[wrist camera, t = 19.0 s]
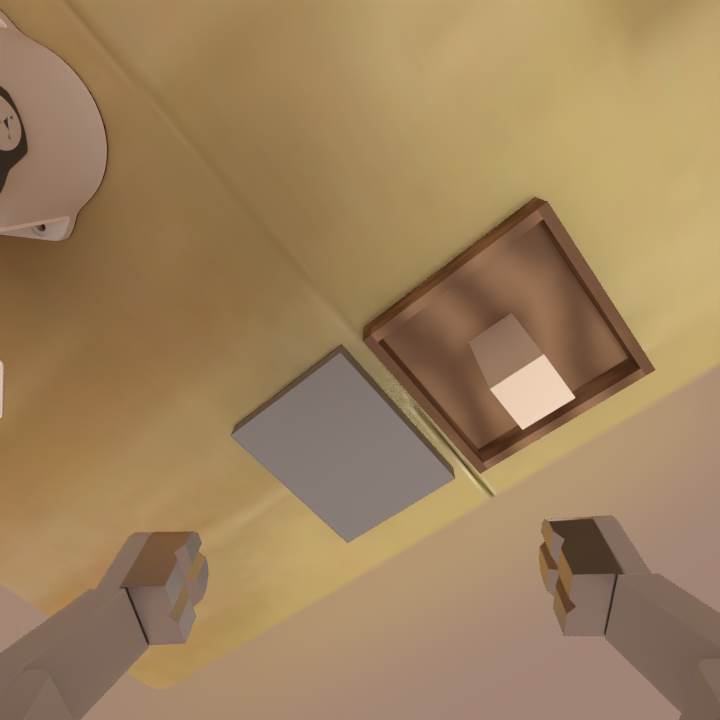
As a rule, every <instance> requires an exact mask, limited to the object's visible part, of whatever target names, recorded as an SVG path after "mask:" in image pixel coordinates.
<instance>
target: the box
mask: <svg viewBox="0 0 720 720" xmlns="http://www.w3.org/2000/svg"><path fill="white" fill-rule="evenodd" d="M510 313H512V314H513V315H514V317H515V318H516V319H517V320H518V322H519V323H520V324H521V326H522V327H523V328H524V329H525V331H526V332H527V333H528V335H529V336H530V337H531V338H532V340H533V341H534V342H535V343H536V345H537V346H538V347H539V349H540V350H541V351H542V352H543V354H544V355H545V356H546V358H547V359H548V360H549V362H550V363H551V365H552V366H553V367H554V369H555V370H556V371H557V373H558V374H559V376H560V377H561V378H562V380H563V381H564V382H565V384H566V385H567V387H568V388H569V389H570V391H571V392H572V393H573V395H574V396H575V399H573V400H571V401H570V402H568V403H566V404H565V405H563V406H561V407H560V408H558V409H556V410H555V411H553V412H551V413H550V414H548V415H546V416H545V417H543V418H541V419H540V420H538V421H536V422H535V423H533V424H531V425H530V426H528V427H526V428H525V429H523V430H522V429H521V427H520V426H519V425H518V424H517V422H516V421H515V420H514V419H513V417H512V416H511V415H510V414H509V412H508V411H507V410H506V409H505V408H504V406H503V405H502V404H501V403H500V401H499V400H498V399H497V398H496V396H495V395H494V394H493V393H492V391H491V390H490V389H489V386H488V384H487V382H486V380H485V377H484V375H483V373H482V371H481V369H480V366H479V364H478V362H477V360H476V358H475V355H474V353H473V351H472V349H471V347H470V344H469V341H471V340H472V339H474V338H475V337H477V336H478V335H480V334H481V333H483V332H484V331H485V330H487V329H488V328H490V327H491V326H493V325H494V324H496V323H497V322H498V321H500V320H501V319H503V318H504V317H506V316H507V315H509V314H510ZM363 341H364V343H365V344H366V345H367V346H368V347H369V348H370V349H371V350H372V352H373V353H374V354H375V355H376V356H377V357H378V358H379V360H380V361H381V362H382V363H383V364H384V365H385V366H386V367H387V369H388V370H389V371H390V372H391V373H392V374H393V375H394V377H395V378H396V379H397V380H398V381H399V382H400V383H401V384H402V386H403V387H404V388H405V389H406V390H407V391H408V392H409V394H410V395H411V396H412V397H413V398H414V399H415V400H416V401H417V403H418V404H419V405H420V406H421V407H422V408H423V409H424V411H425V412H426V413H427V414H428V415H429V416H430V417H431V418H432V420H433V421H434V422H435V423H436V424H437V425H438V426H439V428H440V429H441V430H442V431H443V432H444V433H445V434H446V435H447V437H448V438H449V439H450V440H451V441H452V442H453V443H454V445H455V446H456V447H457V448H458V449H459V450H460V451H461V452H462V454H463V455H464V456H465V457H466V458H467V459H468V460H469V462H470V463H471V464H472V465H473V466H474V467H475V468H476V469H477V471H478V472H479V473H480V474H481V473H482V472H484V471H486V470H487V469H489V468H491V467H492V466H494V465H496V464H497V463H499V462H501V461H503V460H504V459H506V458H508V457H509V456H511V455H513V454H514V453H516V452H518V451H519V450H521V449H523V448H524V447H526V446H528V445H530V444H531V443H533V442H535V441H536V440H538V439H540V438H541V437H543V436H545V435H546V434H548V433H550V432H551V431H553V430H555V429H557V428H558V427H560V426H562V425H563V424H565V423H567V422H568V421H570V420H572V419H573V418H575V417H577V416H578V415H580V414H582V413H584V412H585V411H587V410H589V409H590V408H592V407H594V406H595V405H597V404H599V403H600V402H602V401H604V400H606V399H607V398H609V397H611V396H612V395H614V394H616V393H617V392H619V391H621V390H622V389H624V388H626V387H627V386H629V385H631V384H633V383H634V382H636V381H638V380H639V379H641V378H643V377H644V376H646V375H648V374H649V373H651V372H653V371H654V370H655V368H654V367H653V365H652V364H651V362H650V361H649V359H648V358H647V356H646V354H645V353H644V351H643V350H642V348H641V347H640V345H639V343H638V342H637V340H636V339H635V337H634V336H633V334H632V333H631V331H630V329H629V328H628V326H627V325H626V323H625V322H624V320H623V318H622V317H621V315H620V314H619V312H618V311H617V309H616V308H615V306H614V304H613V303H612V301H611V300H610V298H609V297H608V295H607V294H606V292H605V290H604V289H603V287H602V286H601V284H600V283H599V281H598V279H597V278H596V276H595V275H594V273H593V272H592V270H591V269H590V267H589V265H588V264H587V262H586V261H585V259H584V258H583V256H582V254H581V253H580V251H579V250H578V248H577V247H576V245H575V244H574V242H573V240H572V239H571V237H570V236H569V234H568V233H567V231H566V229H565V228H564V226H563V225H562V223H561V222H560V220H559V219H558V217H557V215H556V214H555V212H554V211H553V209H552V208H551V206H550V204H549V203H548V202H547V201H544V200H541V199H539V198H536V197H535V198H534V199H532V200H531V201H530V202H528V203H527V204H526V205H524V206H523V207H522V208H520V209H519V210H518V211H516V212H515V213H514V214H513V215H511V216H510V217H509V218H507V219H506V220H505V221H503V222H502V223H501V224H499V225H498V226H497V227H495V228H494V229H493V230H492V231H490V232H489V233H488V234H486V235H485V236H484V237H482V238H481V239H480V240H478V241H477V242H476V243H474V244H473V245H472V246H471V247H469V248H468V249H467V250H465V251H464V252H463V253H461V254H460V255H459V256H457V257H456V258H455V259H454V260H452V261H451V262H450V263H448V264H447V265H446V266H444V267H443V268H442V269H440V270H439V271H438V272H436V273H435V274H434V275H433V276H431V277H430V278H429V279H427V280H426V281H425V282H423V283H422V284H421V285H419V286H418V287H417V288H415V289H414V290H413V291H412V292H410V293H409V294H408V295H406V296H405V297H404V298H402V299H401V300H400V301H398V302H397V303H396V304H395V305H393V306H392V307H391V308H389V309H388V310H387V311H385V312H384V313H383V314H381V315H380V316H379V317H377V318H376V319H375V320H374V321H372V322H371V323H370V324H368V325H367V326H366V327H364V334H363Z"/></svg>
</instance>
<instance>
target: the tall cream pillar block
mask: <svg viewBox="0 0 720 720" xmlns="http://www.w3.org/2000/svg"><path fill="white" fill-rule="evenodd" d="M469 344H470V347H471V349H472V351H473V353H474V355H475V358H476V360H477V362H478V364H479V366H480V369H481V371H482V373H483V375H484V377H485V380H486V382H487V384H488V386H489V389H490V390H491V391H492V393H493V394H494V395H495V396H496V398H497V399H498V400H499V401H500V403H501V404H502V405H503V406H504V408H505V409H506V410H507V411H508V412H509V414H510V415H511V416H512V417H513V419H514V420H515V421H516V422H517V424H518V425H519V426H520V427H521V429H522V430H523V429H525V428H526V427H528V426H530V425H531V424H533V423H535V422H536V421H538V420H540V419H541V418H543V417H545V416H546V415H548V414H550V413H551V412H553V411H555V410H556V409H558V408H560V407H561V406H563V405H565V404H566V403H568V402H570V401H571V400H573V399H575V396H574V395H573V393H572V392H571V391H570V389H569V388H568V387H567V385H566V384H565V382H564V381H563V380H562V378H561V377H560V376H559V374H558V373H557V371H556V370H555V369H554V367H553V366H552V365H551V363H550V362H549V360H548V359H547V358H546V356H545V355H544V354H543V352H542V351H541V350H540V349H539V347H538V346H537V345H536V343H535V342H534V341H533V340H532V338H531V337H530V336H529V335H528V333H527V332H526V331H525V329H524V328H523V327H522V326H521V324H520V323H519V322H518V320H517V319H516V318H515V317H514V315H513V314H512V313H510V314H509V315H507V316H506V317H504V318H503V319H501V320H500V321H498V322H497V323H496V324H494V325H493V326H491V327H490V328H488V329H487V330H485V331H484V332H483V333H481V334H480V335H478V336H477V337H475V338H474V339H472V340H471V341H469Z"/></svg>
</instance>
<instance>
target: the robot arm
mask: <svg viewBox="0 0 720 720" xmlns="http://www.w3.org/2000/svg"><path fill="white" fill-rule="evenodd" d="M106 159H107V143H106V136H105V130H104V126H103V122H102V119H101V116H100V113H99V111H98V108H97V106H96V104H95V102H94V100H93V98H92V96H91V94H90V93H89V91H88V89H87V88H86V86H85V85H84V83H83V82H82V81H81V79H80V78H79V77H78V76H77V74H76V73H75V72H74V71H73V70H72V69H71V68H70V67H69V66H68V65H67V64H66V63H65V62H64V61H63V60H62V59H61V58H59V57H58V56H57V55H56V54H54V53H53V52H52V51H50V50H49V49H47V48H45V47H44V46H42V45H40V44H38V43H37V42H35V41H33V40H31V39H30V38H28V37H27V36H25V35H24V34H22V33H21V32H20V31H19V30H18V29H17V28H16V27H15V25H14V24H13V23H12V22H11V21H10V20H9V19H8V18H7V16H6V15H5V14H4V13H3V12H2V11H1V10H0V234H1V235H9V236H17V237H25V238H34V239H42V240H50V241H60V240H65V239H67V238H68V237H69V236H70V235H71V233H72V231H73V228H74V225H75V221H76V217H77V214H78V212H79V211H80V209H81V208H82V207H83V206H84V205H85V204H86V203H87V202H88V201H89V200H90V199H91V197H92V196H93V195H94V194H95V192H96V191H97V189H98V187H99V185H100V183H101V181H102V178H103V175H104V171H105V167H106ZM42 224H44V225H45V227H46V229H45V230H44V229H43V228H42V226H41V225H42ZM541 532H542V535H543V537H544V540H545V542H544V543H543V544H542V545H541V546H540V550H539V563H540V571H541V575H542V579H543V582H544V585H545V588H546V590H547V591H548V592H550V593H551V594H552V595H553V596H554V604H553V609H554V612H555V614H556V617H557V619H558V622H559V625H560V627H561V630H562V632H563V635H564V636H605V639H606V640H607V641H608V642H609V643H610V644H611V645H612V646H613V647H614V648H615V649H616V650H617V651H618V652H620V654H622V656H624V657H625V658H626V659H627V660H628V661H629V662H630V663H631V664H632V665H633V666H634V667H635V668H636V669H637V670H638V671H639V672H640V673H641V674H642V675H643V676H644V677H645V678H646V679H647V680H648V681H649V682H650V683H651V684H652V685H653V686H654V687H655V688H656V689H657V690H658V691H659V692H660V693H661V694H662V695H663V696H664V697H665V698H667V700H668V701H670V703H672V705H674V706H675V707H676V708H677V709H678V710H679V711H680V712H681V713H682V714H681V716H680V719H679V720H720V613H719V612H717V611H716V610H714V609H713V608H711V607H710V606H708V605H707V604H705V603H703V602H702V601H700V600H699V599H697V598H696V597H694V596H693V595H691V594H690V593H688V592H687V591H685V590H684V589H682V588H680V587H679V586H677V585H676V584H674V583H672V582H671V581H670V580H668V579H667V578H665V577H664V576H662V575H660V574H652V573H651V571H650V570H649V568H648V567H647V565H646V564H645V562H644V561H643V559H642V558H641V556H640V554H639V553H638V551H637V550H636V548H635V547H634V545H633V543H632V542H631V541H630V539H629V537H628V536H627V534H626V533H625V531H624V529H623V528H622V526H621V525H620V523H619V522H618V520H617V519H616V518H615V517H613V516H594V517H593V516H592V517H573V518H553V519H552V518H551V519H544V521H543V523H542V529H541ZM201 544H202V543H201V540H200V537H199V534H198V533H197V532H140V533H134V534H132V535H131V536H129V538H128V539H127V541H126V542H125V544H124V545H123V547H122V549H121V550H120V552H119V553H118V555H117V556H116V558H115V560H114V561H113V563H112V564H111V566H110V567H109V569H108V571H107V572H106V574H105V575H104V577H103V578H102V580H101V582H100V583H99V585H98V586H97V588H96V589H90V590H88V591H87V592H85V593H84V594H82V595H81V596H80V597H78V598H77V599H75V600H74V601H73V602H71V603H70V604H68V605H67V606H66V607H64V608H63V609H61V610H60V611H59V612H57V613H56V614H54V615H53V616H52V617H50V618H49V619H47V620H46V621H45V622H43V623H42V624H40V625H39V626H38V627H36V628H35V629H33V630H32V631H31V632H29V633H28V634H27V635H25V636H24V637H22V638H21V639H19V640H18V641H17V642H15V643H14V644H12V645H11V646H10V647H8V648H7V649H5V650H4V651H3V652H1V653H0V720H80V719H81V718H82V717H83V716H84V715H85V714H86V713H87V712H88V711H89V710H90V709H91V708H92V707H93V706H94V705H95V704H96V703H97V702H98V700H99V699H100V698H101V697H102V696H103V695H104V694H105V693H106V692H107V691H108V690H109V689H110V688H111V687H112V686H113V684H115V683H116V681H117V680H118V679H119V678H120V677H121V676H122V675H123V674H124V673H125V672H126V671H127V670H128V669H129V668H130V667H131V666H132V665H133V664H134V662H135V661H136V660H137V659H138V658H139V657H140V656H141V655H142V654H143V653H144V652H145V651H146V650H147V649H148V645H164V644H184V643H186V640H187V638H188V635H189V633H190V630H191V628H192V625H193V622H194V620H195V617H196V615H195V612H194V609H193V607H194V606H195V605H196V604H197V603H199V602H200V601H201V600H202V599H203V596H204V593H205V591H206V588H207V581H208V564H207V560H206V557H205V556H204V555H202V554H201V553H200V552H199V548H200V546H201Z"/></svg>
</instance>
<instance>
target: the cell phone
mask: <svg viewBox="0 0 720 720" xmlns="http://www.w3.org/2000/svg"><path fill="white" fill-rule="evenodd" d="M3 404H4V362H3V361H2V360H1V359H0V418H1V417H2V416H3Z"/></svg>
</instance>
